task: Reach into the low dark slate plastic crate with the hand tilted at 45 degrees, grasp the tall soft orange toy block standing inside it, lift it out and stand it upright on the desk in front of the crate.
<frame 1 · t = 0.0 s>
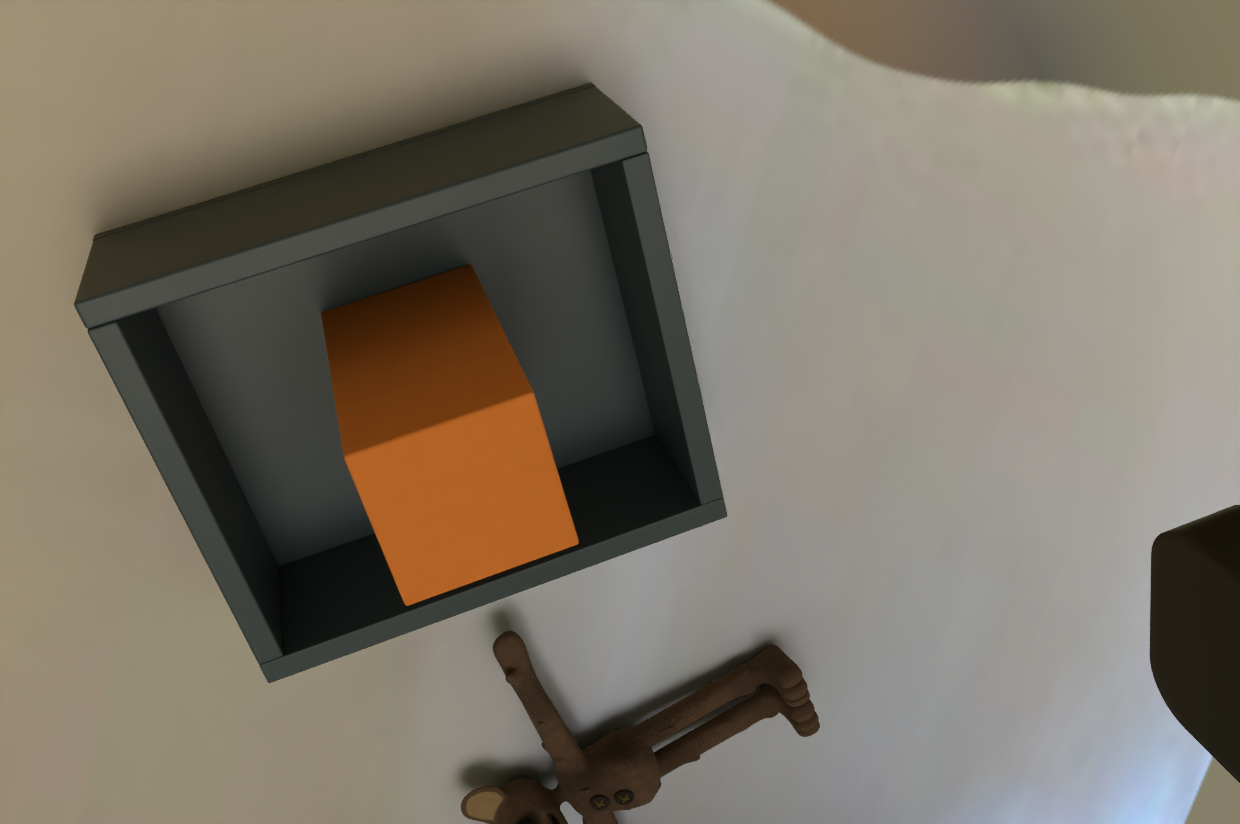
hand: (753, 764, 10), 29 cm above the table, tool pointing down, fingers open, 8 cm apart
toy block: (419, 354, 39), resting on crate
crate: (418, 349, 39), on the table
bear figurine: (629, 731, 50), on the table
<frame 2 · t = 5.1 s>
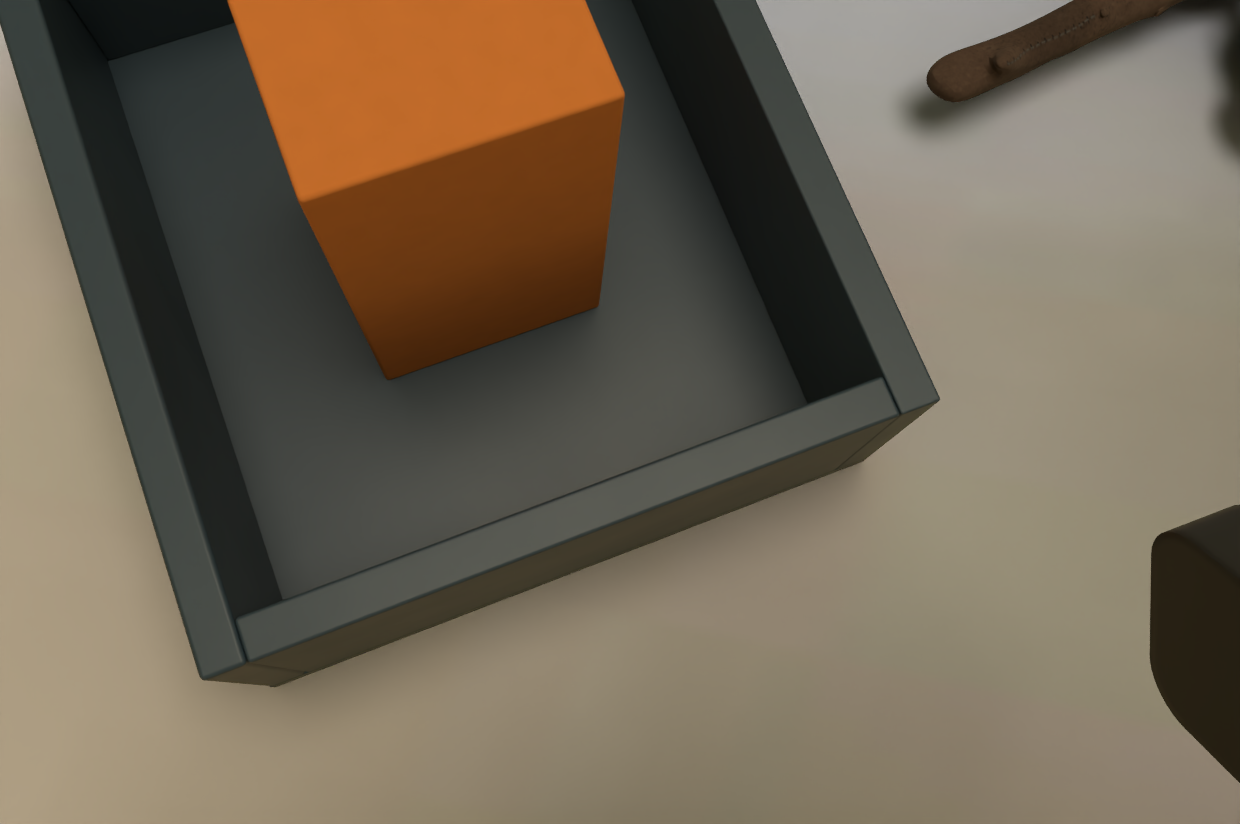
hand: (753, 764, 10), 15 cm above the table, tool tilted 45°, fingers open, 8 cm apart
toy block: (457, 244, 27), resting on crate
crate: (458, 251, 27), on the table
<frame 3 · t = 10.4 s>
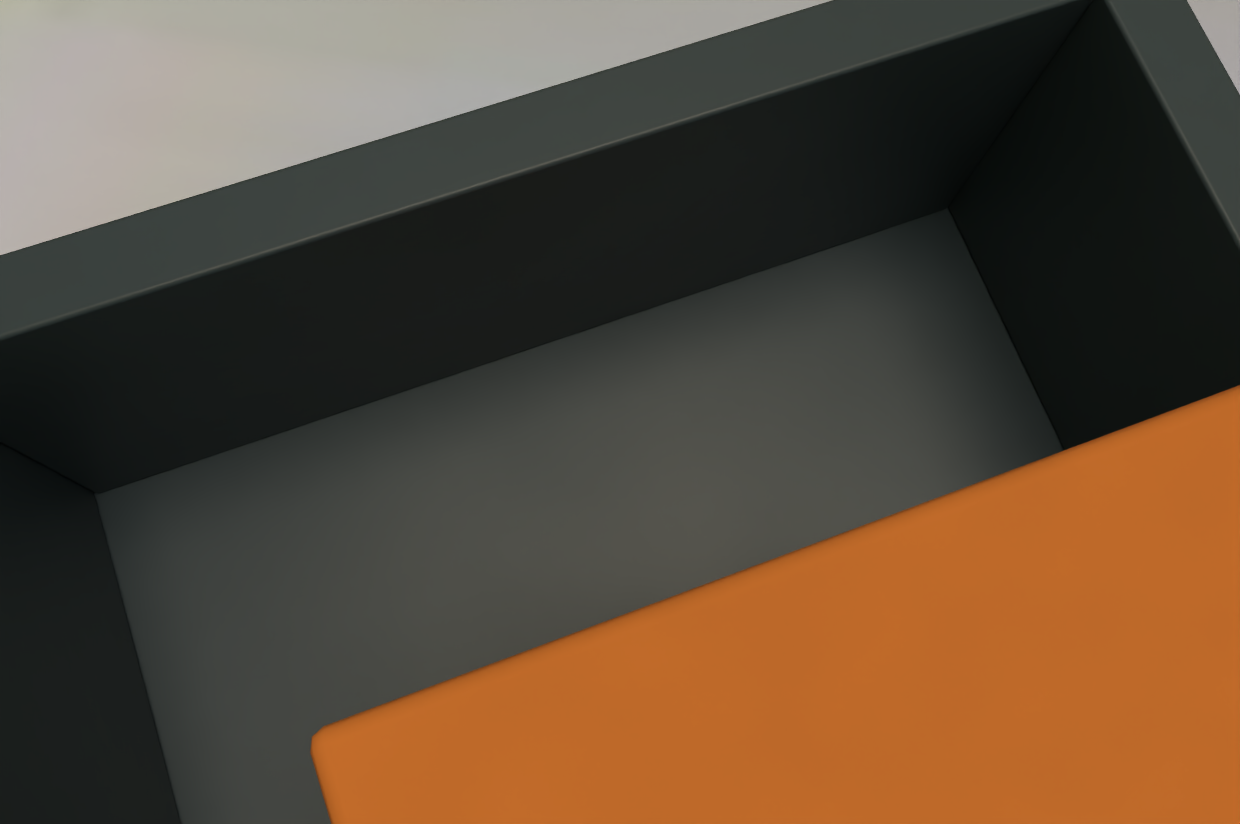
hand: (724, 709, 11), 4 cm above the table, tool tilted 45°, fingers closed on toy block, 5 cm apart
when the fingers open (4 cm above the table, at t = 21.3 s): toy block stays where it is, on the table.
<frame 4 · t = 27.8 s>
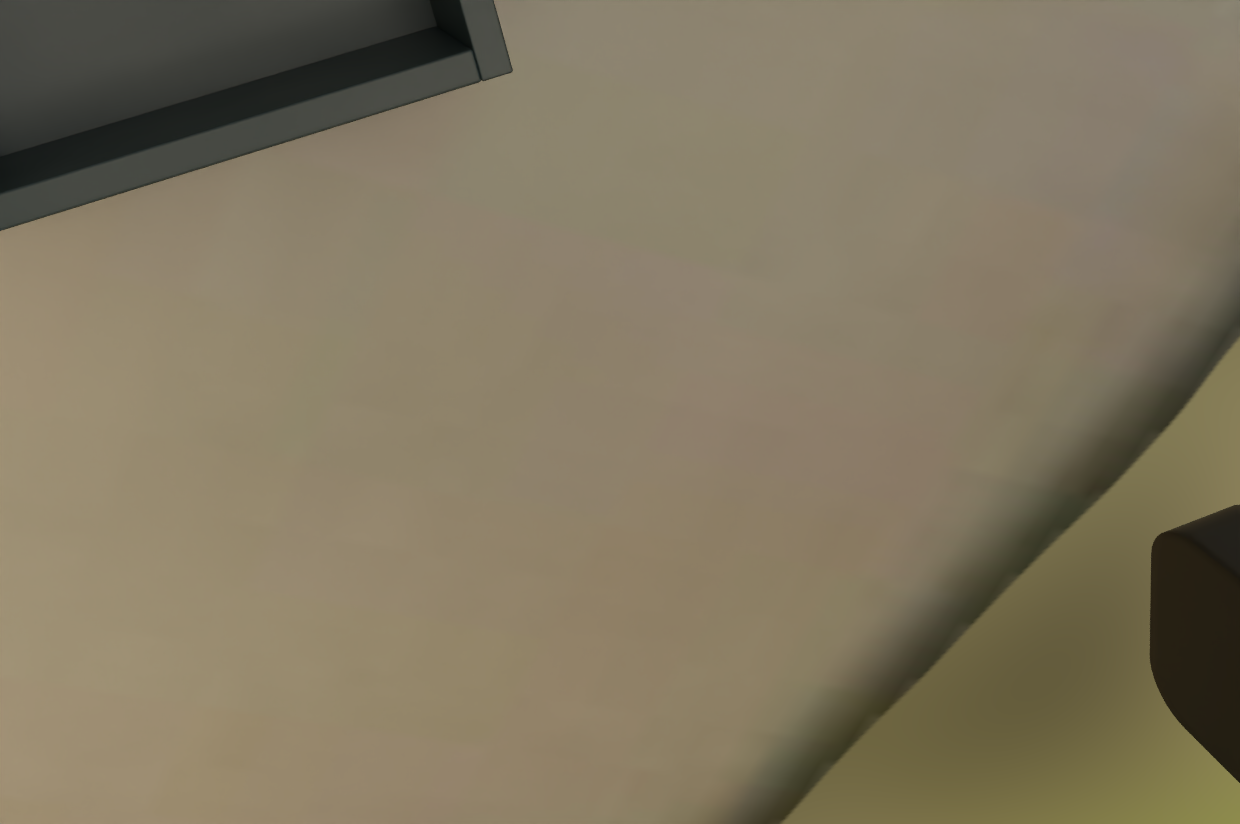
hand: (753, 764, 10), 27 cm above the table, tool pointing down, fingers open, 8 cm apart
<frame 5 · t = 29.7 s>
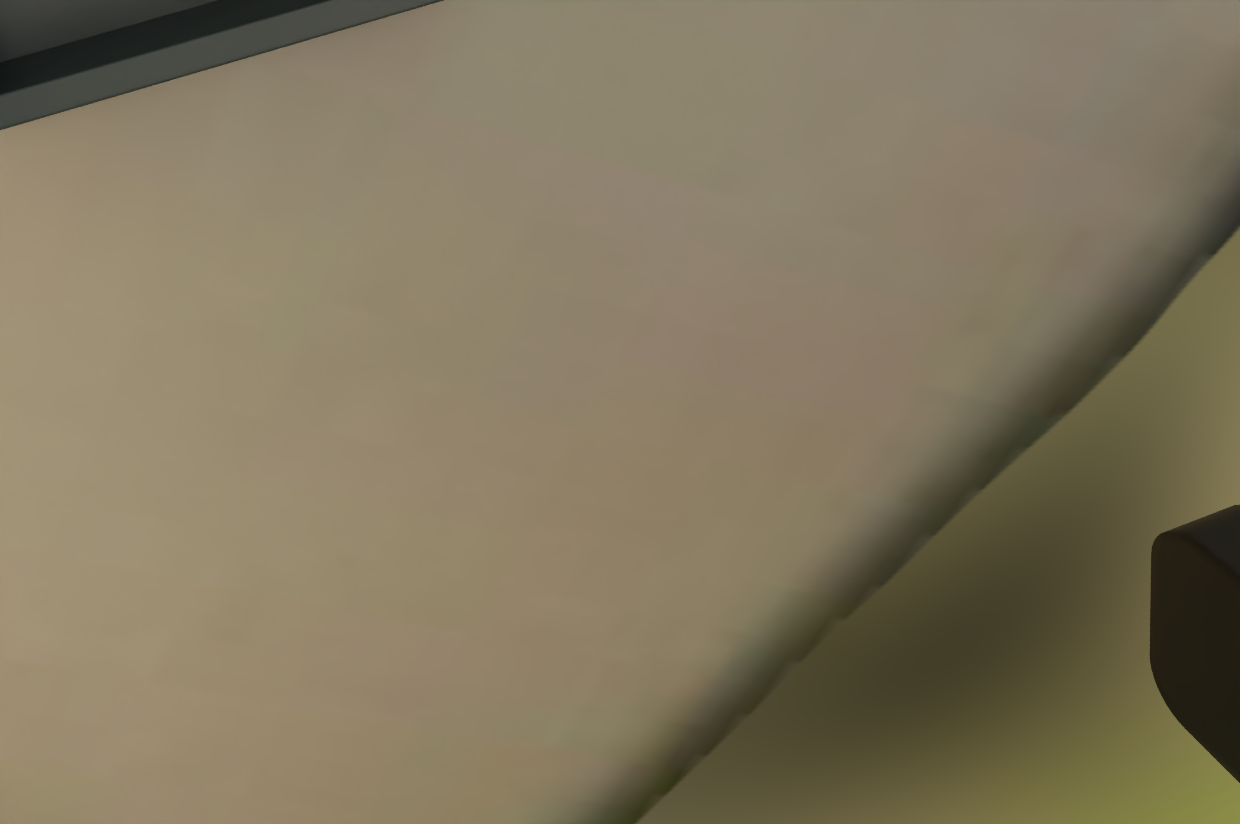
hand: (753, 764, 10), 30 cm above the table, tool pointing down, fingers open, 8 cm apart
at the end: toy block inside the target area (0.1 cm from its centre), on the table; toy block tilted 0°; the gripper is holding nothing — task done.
